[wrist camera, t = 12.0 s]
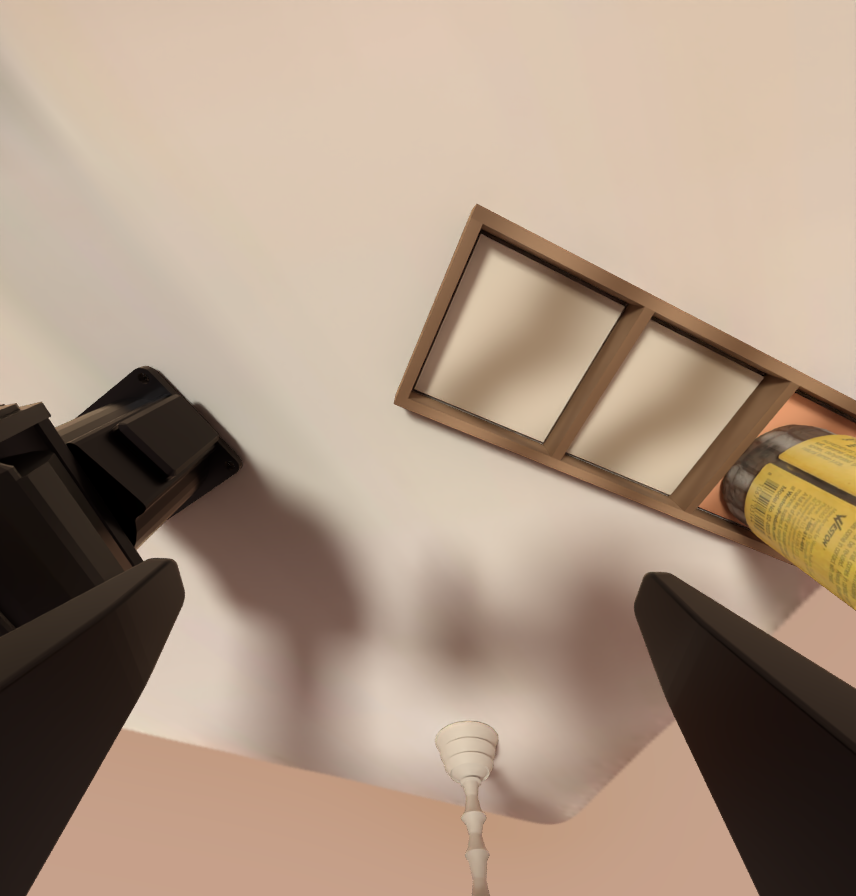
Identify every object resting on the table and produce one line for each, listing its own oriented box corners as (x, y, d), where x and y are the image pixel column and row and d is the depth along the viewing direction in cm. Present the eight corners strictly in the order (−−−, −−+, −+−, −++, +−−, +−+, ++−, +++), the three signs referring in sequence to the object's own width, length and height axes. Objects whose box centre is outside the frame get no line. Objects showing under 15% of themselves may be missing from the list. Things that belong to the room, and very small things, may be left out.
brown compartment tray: (395, 394, 20) (393, 404, 18) (472, 209, 16) (477, 203, 15) (778, 550, 24) (799, 567, 23) (899, 429, 21) (932, 440, 19)
